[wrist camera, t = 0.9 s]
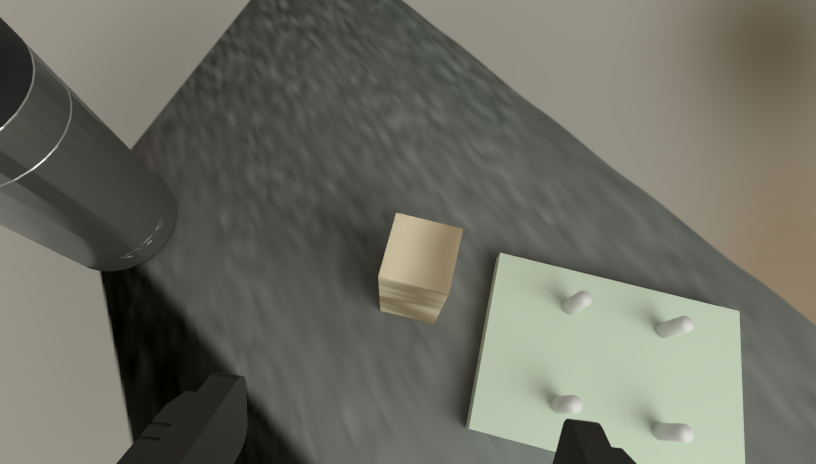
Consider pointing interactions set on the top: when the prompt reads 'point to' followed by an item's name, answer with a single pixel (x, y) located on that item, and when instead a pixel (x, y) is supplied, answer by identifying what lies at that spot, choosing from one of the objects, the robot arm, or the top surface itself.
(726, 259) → the top surface
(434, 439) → the top surface
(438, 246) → the ash block
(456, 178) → the top surface
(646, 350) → the peg board
